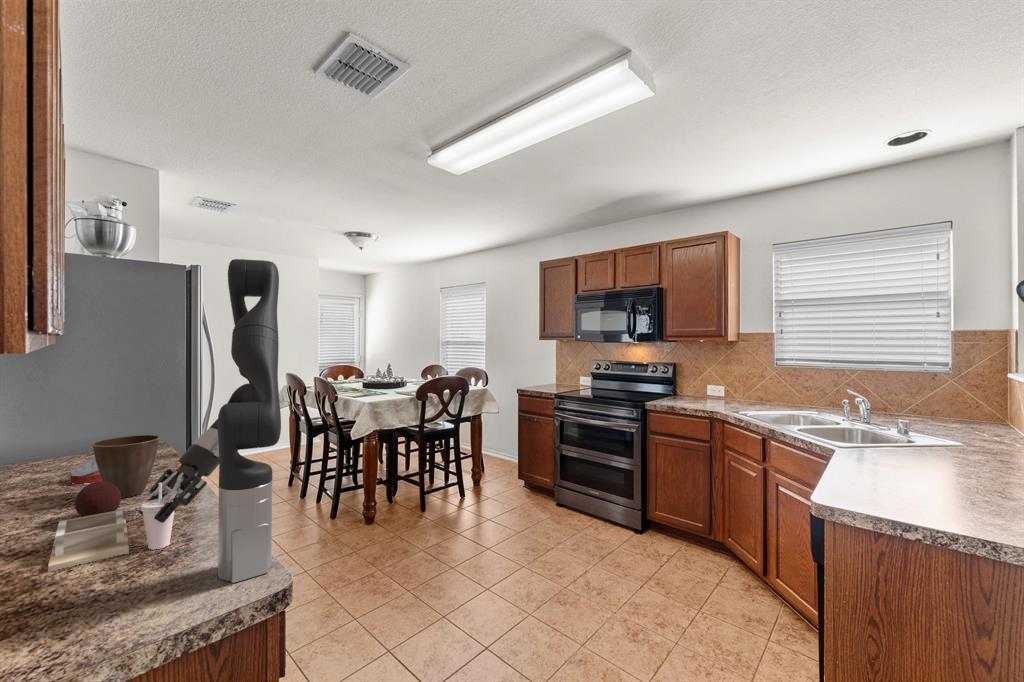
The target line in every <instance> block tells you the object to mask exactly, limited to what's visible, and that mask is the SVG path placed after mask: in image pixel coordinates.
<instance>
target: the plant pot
mask: <svg viewBox="0 0 1024 682" xmlns="http://www.w3.org/2000/svg"><path fill="white" fill-rule="evenodd" d="M159 442H160V436H158V435H153V434H147V435H146V434H145V435H144V434H143V435H129V436H128V435H127V436H121V437H113V438H108V439H103V440H99V441H96V442H93V443H92V448H93V453H94V454H93V455H94V456H95V459H96V463H97V467H98V470H99V473H100V476H101V478H102V481H106V482H110V483H112V484H114V485H115V486H116V487H118V489H119V491H120V493H121V499H126V498H125V497H128V498H132V497H136V496H139V495H142V494H143V493H144V492H145V490H146V487H147V485H148V482H149V480H150V478H151V475H152V471H153V468H154V466H155V463H156V462H155V461H156V459H157V453H158V449H159V444H160V443H159ZM135 495H136V496H135ZM131 496H132V497H131Z"/></svg>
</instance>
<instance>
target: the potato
mask: <svg viewBox="0 0 1024 682" xmlns="http://www.w3.org/2000/svg"><path fill="white" fill-rule="evenodd" d="M121 500H122V498H121V493H120V491H119V489H118V487H116V486H115V485H114V484H112V483H110V482H106V481H97V482H94V483H91V484H86V486H84V487H83V488H81V490H80V491H79V492H78V493H77V494H76V496H75V501H74V507H75V508H74V509H75V511H76V513H77V515H79V516H80V517H85V516H90V515H95V514H101V513H106V512H112V511H117V510H118V508H119V506H120V503H121Z"/></svg>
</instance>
